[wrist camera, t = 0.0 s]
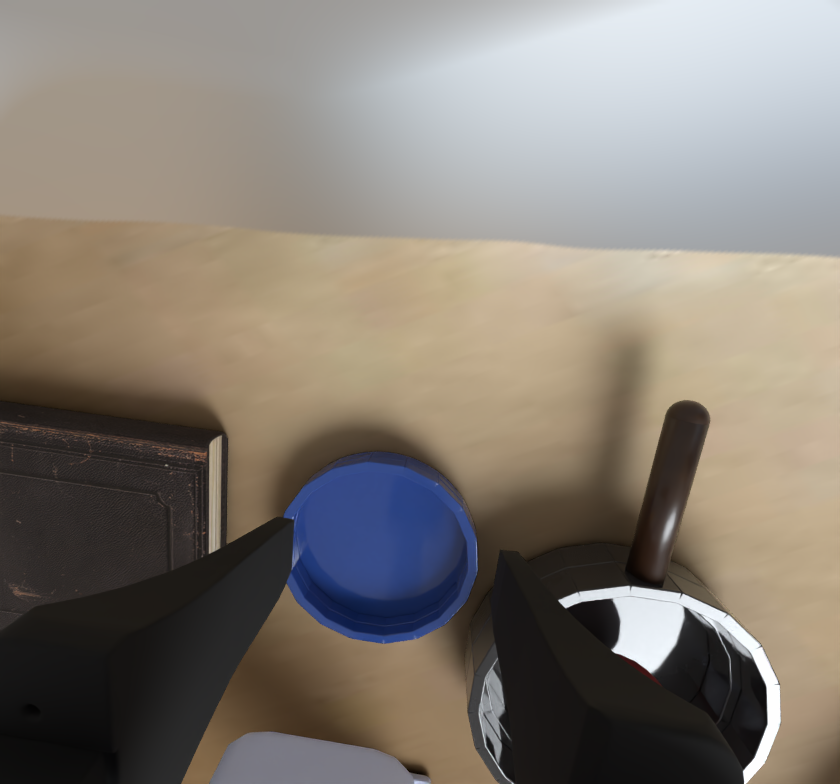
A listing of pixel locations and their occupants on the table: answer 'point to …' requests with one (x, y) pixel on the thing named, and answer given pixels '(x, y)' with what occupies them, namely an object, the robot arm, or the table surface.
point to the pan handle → (668, 490)
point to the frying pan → (638, 651)
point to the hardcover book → (101, 503)
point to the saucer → (381, 548)
